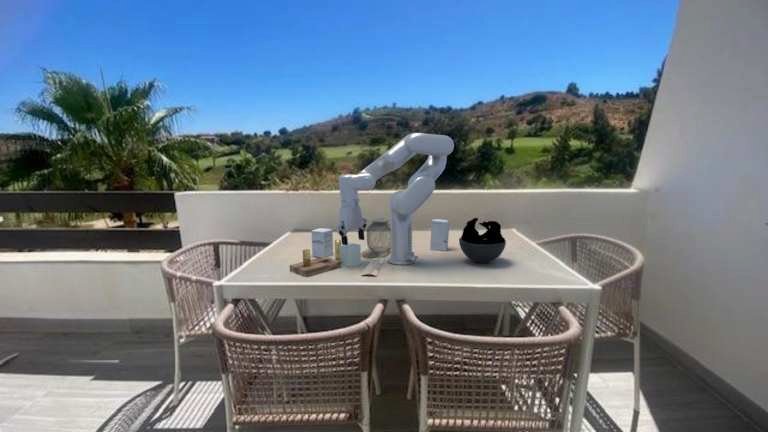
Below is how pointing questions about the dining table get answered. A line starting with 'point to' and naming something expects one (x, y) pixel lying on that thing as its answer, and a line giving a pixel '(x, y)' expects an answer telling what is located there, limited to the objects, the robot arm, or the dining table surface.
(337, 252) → the brass pin
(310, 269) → the pegboard
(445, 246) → the skincare box
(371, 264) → the newspaper
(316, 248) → the supplement box
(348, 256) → the pale blue block
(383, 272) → the dining table surface
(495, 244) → the bowl of black rocks
